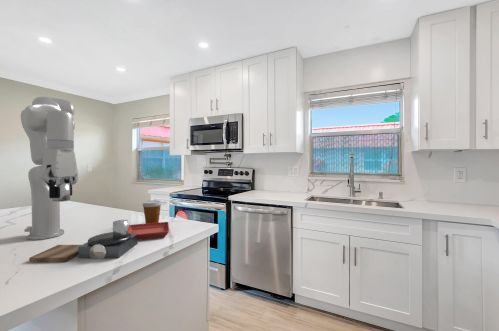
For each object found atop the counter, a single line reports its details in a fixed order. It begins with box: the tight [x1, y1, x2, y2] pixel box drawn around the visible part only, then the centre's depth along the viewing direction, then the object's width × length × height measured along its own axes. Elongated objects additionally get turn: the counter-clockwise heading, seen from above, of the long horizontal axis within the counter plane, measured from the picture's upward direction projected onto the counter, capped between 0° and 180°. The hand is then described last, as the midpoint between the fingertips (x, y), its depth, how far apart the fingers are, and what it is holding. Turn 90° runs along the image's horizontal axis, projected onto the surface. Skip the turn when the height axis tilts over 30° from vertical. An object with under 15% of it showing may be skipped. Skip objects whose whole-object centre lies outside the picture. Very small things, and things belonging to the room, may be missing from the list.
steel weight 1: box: [52, 183, 71, 202], centre depth 83 cm, size 5×5×6 cm
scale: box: [77, 231, 139, 260], centre depth 87 cm, size 14×15×6 cm
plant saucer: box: [128, 221, 170, 241], centre depth 108 cm, size 18×18×3 cm
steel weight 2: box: [112, 219, 129, 239], centre depth 88 cm, size 5×5×6 cm
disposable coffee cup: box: [142, 200, 162, 224], centre depth 125 cm, size 10×10×12 cm
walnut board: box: [28, 244, 82, 263], centre depth 84 cm, size 12×12×2 cm
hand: (61, 196), depth 83 cm, fingers closed on steel weight 1, 5 cm apart
